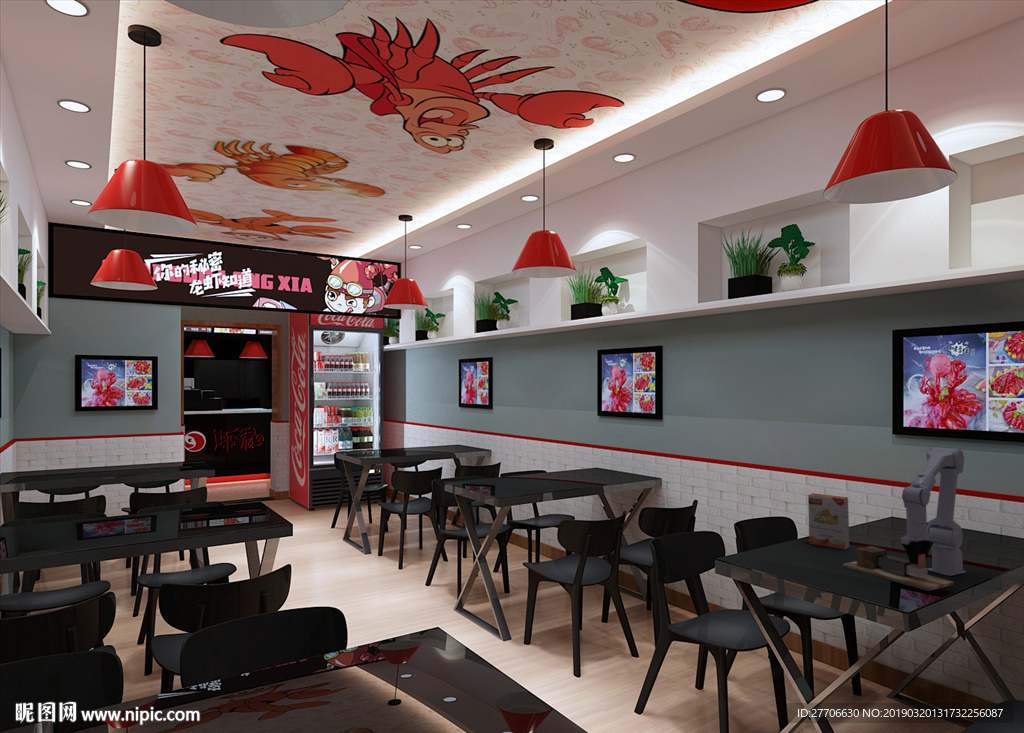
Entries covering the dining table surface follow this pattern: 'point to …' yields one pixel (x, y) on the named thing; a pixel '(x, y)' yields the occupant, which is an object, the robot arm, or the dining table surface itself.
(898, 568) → the sleeve
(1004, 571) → the dining table surface
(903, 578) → the board
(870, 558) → the socket block
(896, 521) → the dining table surface
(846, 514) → the cracker box
